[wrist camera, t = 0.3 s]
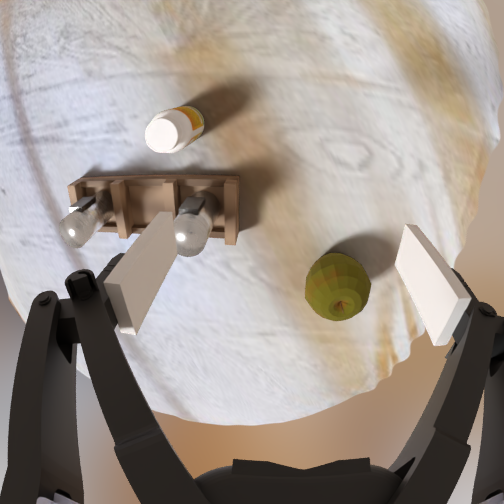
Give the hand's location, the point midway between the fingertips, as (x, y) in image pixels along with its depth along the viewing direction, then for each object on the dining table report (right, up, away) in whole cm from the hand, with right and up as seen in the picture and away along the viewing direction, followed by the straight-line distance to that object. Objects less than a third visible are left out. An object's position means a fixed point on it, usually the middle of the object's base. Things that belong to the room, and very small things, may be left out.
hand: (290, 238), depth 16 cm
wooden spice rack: (-17, +7, +28) cm, 34 cm away
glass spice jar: (-26, +7, +28) cm, 39 cm away
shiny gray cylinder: (-9, +6, +27) cm, 29 cm away
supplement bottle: (-11, +17, +22) cm, 30 cm away
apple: (+11, -3, +32) cm, 34 cm away
